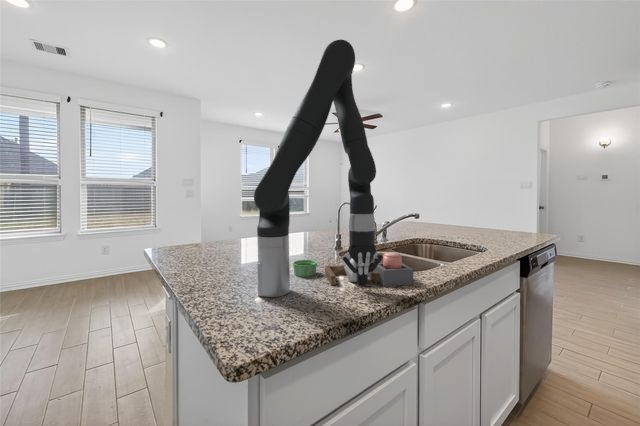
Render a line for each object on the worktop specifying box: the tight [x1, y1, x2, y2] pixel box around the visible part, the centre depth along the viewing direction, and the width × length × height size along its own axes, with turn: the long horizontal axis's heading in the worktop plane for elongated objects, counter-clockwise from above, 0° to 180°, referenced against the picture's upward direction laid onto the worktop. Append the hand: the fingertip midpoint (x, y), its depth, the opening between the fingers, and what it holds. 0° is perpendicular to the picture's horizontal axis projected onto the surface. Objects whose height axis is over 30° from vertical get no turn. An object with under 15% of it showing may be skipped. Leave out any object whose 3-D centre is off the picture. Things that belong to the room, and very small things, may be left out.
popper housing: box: [375, 262, 414, 287], centre depth 93 cm, size 10×10×5 cm
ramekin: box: [292, 259, 318, 278], centre depth 103 cm, size 9×9×4 cm
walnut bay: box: [324, 264, 380, 286], centre depth 97 cm, size 16×14×3 cm
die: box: [344, 258, 372, 283], centre depth 93 cm, size 8×9×10 cm
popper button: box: [382, 251, 403, 269], centre depth 93 cm, size 6×6×6 cm
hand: (362, 285), depth 84 cm, fingers closed
